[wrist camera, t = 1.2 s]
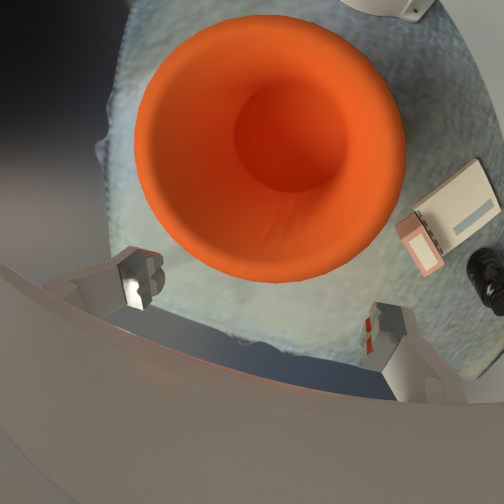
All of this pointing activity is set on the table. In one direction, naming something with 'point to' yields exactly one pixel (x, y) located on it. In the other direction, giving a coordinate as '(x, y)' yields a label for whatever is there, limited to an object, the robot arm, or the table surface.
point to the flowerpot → (270, 148)
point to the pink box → (419, 245)
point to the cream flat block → (458, 207)
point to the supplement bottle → (487, 279)
